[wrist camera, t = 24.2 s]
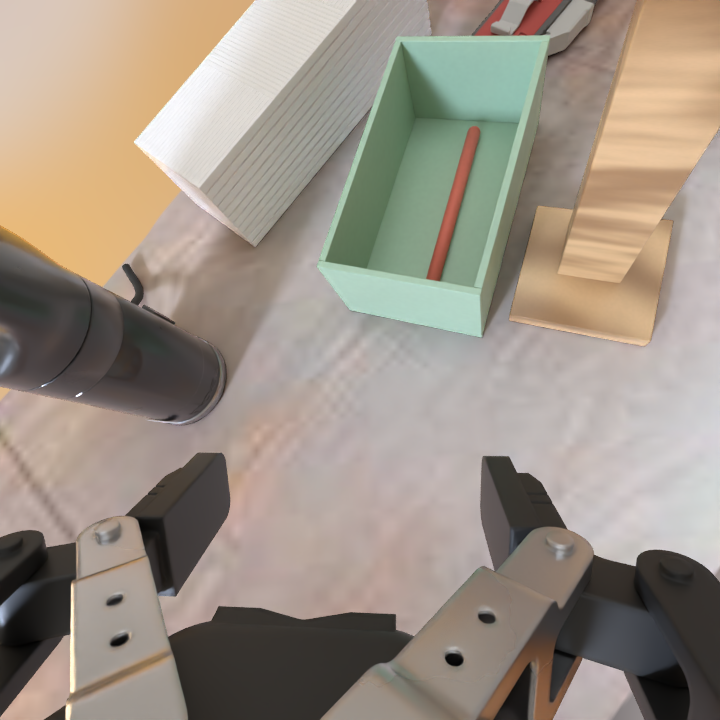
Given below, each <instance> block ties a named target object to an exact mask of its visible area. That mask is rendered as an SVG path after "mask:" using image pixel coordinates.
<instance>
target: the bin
mask: <svg viewBox="0 0 720 720" xmlns="http://www.w3.org/2000/svg"><path fill="white" fill-rule="evenodd" d="M549 43H550V35H531V36H397V37H396V40H395V43H394V46H393V49H392V52H391V55H390V57H389V60H388V63H387V66H386V69H385V72H384V75H383V77H382V80H381V83H380V86H379V89H378V92H377V95H376V98H375V100H374V103H373V106H372V109H371V112H370V115H369V118H368V120H367V123H366V126H365V129H364V132H363V135H362V138H361V141H360V143H359V146H358V149H357V152H356V155H355V158H354V161H353V163H352V166H351V169H350V172H349V175H348V178H347V181H346V184H345V186H344V189H343V192H342V195H341V198H340V201H339V204H338V207H337V209H336V212H335V215H334V218H333V221H332V224H331V227H330V229H329V232H328V235H327V238H326V241H325V244H324V247H323V250H322V252H321V255H320V258H319V261H318V264H317V268H318V269H319V270H320V272H321V273H322V274H323V276H324V277H325V278H326V280H327V281H328V282H329V283H330V285H331V286H332V287H333V289H334V290H335V291H336V293H337V294H338V295H339V297H340V298H341V299H342V300H343V302H344V303H345V304H346V306H347V307H348V308H349V310H351V311H356V312H361V313H366V314H371V315H375V316H380V317H385V318H390V319H395V320H399V321H404V322H409V323H414V324H419V325H423V326H428V327H433V328H438V329H443V330H447V331H452V332H457V333H462V334H467V335H471V336H476V337H482V335H483V331H484V327H485V324H486V320H487V316H488V312H489V309H490V305H491V301H492V297H493V293H494V290H495V286H496V282H497V278H498V275H499V271H500V267H501V263H502V259H503V256H504V252H505V248H506V244H507V241H508V237H509V233H510V229H511V225H512V222H513V218H514V214H515V210H516V207H517V203H518V199H519V195H520V191H521V188H522V184H523V180H524V176H525V173H526V169H527V165H528V161H529V157H530V154H531V150H532V146H533V142H534V138H535V135H536V131H537V127H538V123H539V116H540V108H541V101H542V94H543V87H544V79H545V72H546V65H547V58H548V51H549ZM472 126H477V127H479V129H480V132H481V133H480V137H479V141H478V144H477V148H476V152H475V155H474V159H473V163H472V166H471V170H470V173H469V177H468V181H467V184H466V188H465V191H464V195H463V199H462V202H461V206H460V210H459V213H458V217H457V220H456V224H455V228H454V231H453V235H452V239H451V242H450V246H449V249H448V253H447V257H446V260H445V264H444V268H443V271H442V275H441V278H440V281H435V280H429V279H426V277H427V273H428V270H429V266H430V263H431V259H432V256H433V252H434V249H435V245H436V242H437V238H438V235H439V231H440V228H441V224H442V220H443V217H444V213H445V210H446V206H447V203H448V199H449V196H450V192H451V189H452V185H453V182H454V178H455V174H456V171H457V167H458V164H459V160H460V157H461V153H462V150H463V146H464V143H465V139H466V136H467V132H468V130H469V128H470V127H472Z"/></svg>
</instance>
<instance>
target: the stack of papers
mask: <svg viewBox="0 0 720 720" xmlns="http://www.w3.org/2000/svg"><path fill="white" fill-rule="evenodd" d="M427 9H428V2H427V1H426V0H255V1H254V2H253V4H252V5H251V6H250V7H249V8H248V9H247V10H246V12H245V13H244V14H243V15H242V16H241V17H240V19H239V20H238V21H237V22H236V23H235V24H234V26H233V27H232V28H231V29H230V30H229V31H228V33H227V34H226V35H225V36H224V37H223V38H222V40H221V41H220V42H219V43H218V44H217V45H216V47H215V48H214V49H213V50H212V51H211V52H210V54H209V55H208V56H207V57H206V58H205V59H204V61H203V62H202V63H201V64H200V65H199V66H198V68H197V69H196V70H195V71H194V72H193V73H192V75H191V76H190V77H189V78H188V79H187V80H186V82H185V83H184V84H183V85H182V86H181V88H180V89H179V90H178V91H177V92H176V93H175V95H174V96H173V97H172V98H171V99H170V100H169V101H168V103H167V104H166V105H165V106H164V107H163V109H162V110H161V111H160V112H159V113H158V114H157V116H156V117H155V118H154V119H153V120H152V121H151V122H150V124H149V125H148V126H147V127H146V128H145V130H144V131H143V132H142V133H141V134H140V135H139V136H138V138H137V139H136V140H135V141H134V143H135V144H136V145H137V146H138V147H139V148H140V149H141V150H142V151H143V152H144V153H145V154H146V155H147V156H148V157H149V158H150V159H151V160H152V161H153V162H155V164H156V165H157V166H158V167H159V168H161V170H162V171H163V172H164V173H165V174H167V176H168V177H169V178H170V179H172V181H173V182H174V183H175V184H176V185H178V186H179V187H180V188H181V189H182V190H183V191H184V192H185V193H186V194H187V195H188V196H189V197H190V198H191V199H192V200H193V201H194V202H195V203H196V204H197V205H198V206H199V207H201V208H202V209H203V210H205V211H206V212H208V213H209V214H210V215H212V216H213V217H214V218H216V219H217V220H218V221H220V222H221V223H223V224H224V225H225V226H227V227H228V228H229V229H231V230H232V231H234V232H235V233H236V234H238V235H239V236H240V237H242V238H243V239H245V240H246V241H247V242H249V243H250V244H251V245H253V246H254V247H256V246H257V245H258V243H259V242H260V241H261V240H262V239H263V237H264V236H265V235H266V234H267V233H268V231H269V230H270V229H271V228H272V226H273V225H274V224H275V223H276V222H277V220H278V219H279V218H280V217H281V216H282V214H283V213H284V212H285V211H286V210H287V208H288V207H289V206H290V205H291V204H292V202H293V201H294V200H295V199H296V197H297V196H298V195H299V194H300V193H301V191H302V190H303V189H304V188H305V187H306V185H307V184H308V183H309V182H310V181H311V179H312V178H313V177H314V176H315V175H316V173H317V172H318V171H319V170H320V168H321V167H322V166H323V165H324V164H325V162H326V161H327V160H328V159H329V158H330V156H331V155H332V154H333V153H334V152H335V150H336V149H337V148H338V147H339V146H340V144H341V143H342V142H343V141H344V139H345V138H346V137H347V136H348V135H349V133H350V132H351V131H352V130H353V129H354V127H355V126H356V125H357V124H358V123H359V121H360V120H361V119H362V118H363V117H364V115H365V114H366V113H367V112H368V110H369V109H370V108H371V107H372V106H373V103H374V100H375V98H376V95H377V92H378V89H379V86H380V83H381V80H382V77H383V75H384V72H385V69H386V66H387V63H388V60H389V57H390V55H391V52H392V49H393V46H394V43H395V40H396V37H397V36H431V34H432V33H431V27H429V26H430V19H428V18H429V10H427Z"/></svg>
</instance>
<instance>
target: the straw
mask: <svg viewBox="0 0 720 720" xmlns="http://www.w3.org/2000/svg"><path fill="white" fill-rule="evenodd" d="M480 133H481V132H480V129H479V127H477V126H472V127H470V128H469V130H468V132H467V136H466V139H465V143H464V146H463V150H462V153H461V157H460V160H459V164H458V167H457V171H456V174H455V178H454V182H453V185H452V189H451V192H450V196H449V199H448V203H447V206H446V210H445V213H444V217H443V220H442V224H441V228H440V231H439V235H438V238H437V242H436V245H435V249H434V252H433V256H432V259H431V263H430V266H429V270H428V273H427V277H426V279H429V280H435V281H440V278H441V275H442V271H443V268H444V264H445V260H446V257H447V253H448V249H449V246H450V242H451V239H452V235H453V231H454V228H455V224H456V220H457V217H458V213H459V210H460V206H461V202H462V199H463V195H464V191H465V188H466V184H467V181H468V177H469V173H470V170H471V166H472V163H473V159H474V155H475V152H476V148H477V144H478V141H479V137H480Z"/></svg>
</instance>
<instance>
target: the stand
mask: <svg viewBox="0 0 720 720" xmlns="http://www.w3.org/2000/svg"><path fill="white" fill-rule="evenodd" d="M719 128H720V0H637V1H636V5H635V8H634V11H633V15H632V18H631V21H630V24H629V28H628V31H627V34H626V38H625V41H624V44H623V47H622V51H621V54H620V57H619V61H618V64H617V67H616V70H615V74H614V77H613V80H612V84H611V87H610V90H609V93H608V97H607V100H606V103H605V106H604V110H603V113H602V116H601V120H600V123H599V126H598V129H597V133H596V136H595V139H594V143H593V146H592V149H591V152H590V156H589V159H588V162H587V166H586V169H585V172H584V175H583V179H582V182H581V185H580V189H579V192H578V195H577V198H576V202H575V205H574V208H573V209H564V208H555V207H546V206H537V209H536V213H535V216H534V220H533V224H532V228H531V232H530V236H529V240H528V244H527V248H526V252H525V256H524V260H523V264H522V267H521V271H520V275H519V279H518V283H517V287H516V291H515V295H514V299H513V303H512V307H511V311H510V315H509V321H514V322H519V323H525V324H530V325H535V326H540V327H545V328H551V329H556V330H561V331H566V332H571V333H577V334H582V335H587V336H592V337H597V338H603V339H608V340H613V341H618V342H623V343H629V344H634V345H639V346H646V345H647V344H648V343H649V342H650V341H651V337H652V332H653V327H654V322H655V316H656V311H657V306H658V300H659V295H660V290H661V285H662V279H663V274H664V269H665V264H666V258H667V253H668V248H669V242H670V237H671V232H672V227H673V220H665V219H662V217H663V215H664V214H665V212H666V211H667V209H668V208H669V206H670V205H671V203H672V201H673V200H674V198H675V197H676V195H677V194H678V192H679V191H680V189H681V187H682V186H683V184H684V183H685V181H686V180H687V178H688V176H689V175H690V173H691V172H692V170H693V169H694V167H695V166H696V164H697V162H698V161H699V159H700V158H701V156H702V155H703V153H704V152H705V150H706V148H707V147H708V145H709V144H710V142H711V141H712V139H713V137H714V136H715V134H716V133H717V131H718V130H719Z"/></svg>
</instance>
